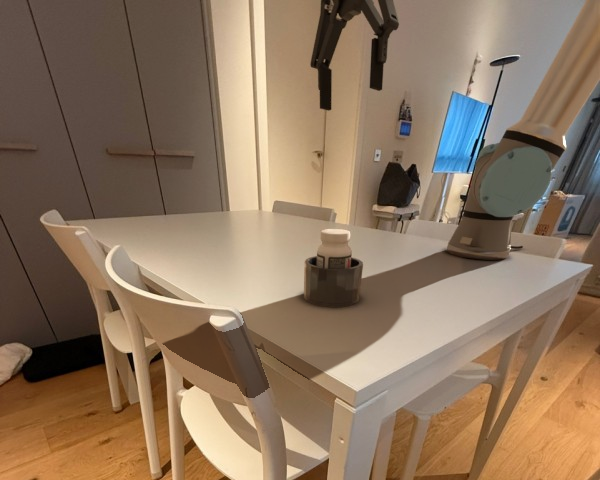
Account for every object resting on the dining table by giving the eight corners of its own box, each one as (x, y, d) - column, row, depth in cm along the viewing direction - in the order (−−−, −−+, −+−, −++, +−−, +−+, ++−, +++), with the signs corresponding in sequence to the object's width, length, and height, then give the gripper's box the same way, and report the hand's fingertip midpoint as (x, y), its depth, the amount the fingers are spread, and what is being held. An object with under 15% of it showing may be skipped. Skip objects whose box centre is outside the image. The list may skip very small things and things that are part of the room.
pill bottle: (352, 291, 60) (358, 230, 54) (341, 301, 56) (347, 235, 50) (322, 287, 62) (325, 227, 56) (310, 296, 58) (312, 232, 52)
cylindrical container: (349, 288, 64) (352, 254, 60) (366, 305, 56) (371, 268, 52) (299, 290, 62) (300, 255, 59) (310, 308, 54) (311, 270, 51)
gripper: (431, -102, 51) (414, 83, 60) (319, -14, 68) (320, 118, 78) (401, -130, 46) (388, 73, 56) (290, -29, 64) (295, 113, 74)
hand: (348, 100), depth 67 cm, fingers open, 13 cm apart
